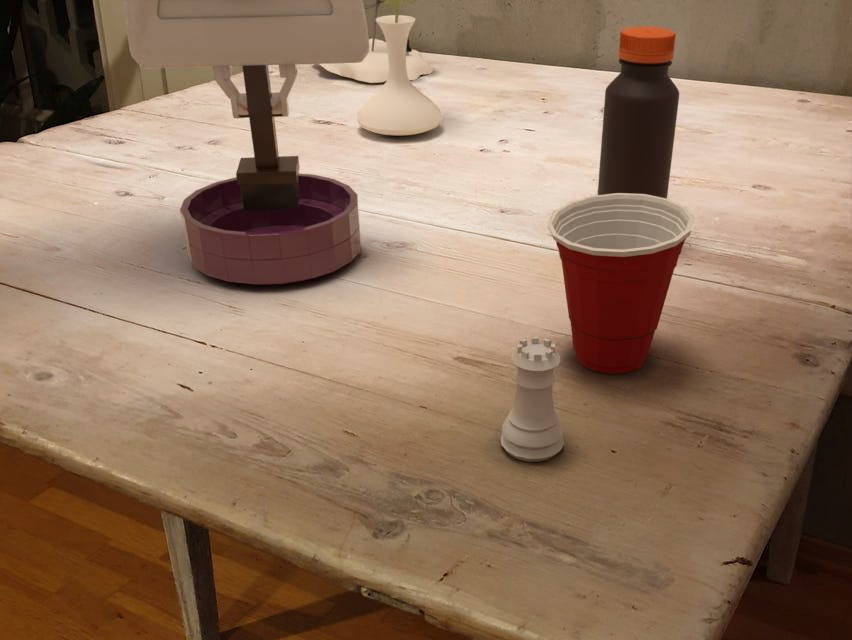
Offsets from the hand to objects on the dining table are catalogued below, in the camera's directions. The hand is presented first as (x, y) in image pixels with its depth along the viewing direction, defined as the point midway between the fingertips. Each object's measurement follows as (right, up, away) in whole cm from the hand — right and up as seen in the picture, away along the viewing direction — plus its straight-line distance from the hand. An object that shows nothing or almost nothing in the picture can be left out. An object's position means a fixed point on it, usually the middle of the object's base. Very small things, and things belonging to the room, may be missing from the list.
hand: (261, 116), depth 87 cm
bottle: (+35, -9, +11) cm, 37 cm away
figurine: (+2, +31, +69) cm, 76 cm away
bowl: (0, -11, +8) cm, 13 cm away
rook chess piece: (+23, -30, -19) cm, 43 cm away
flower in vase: (+9, +13, +42) cm, 45 cm away
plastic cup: (+30, -23, -9) cm, 39 cm away
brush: (0, -7, +5) cm, 8 cm away
